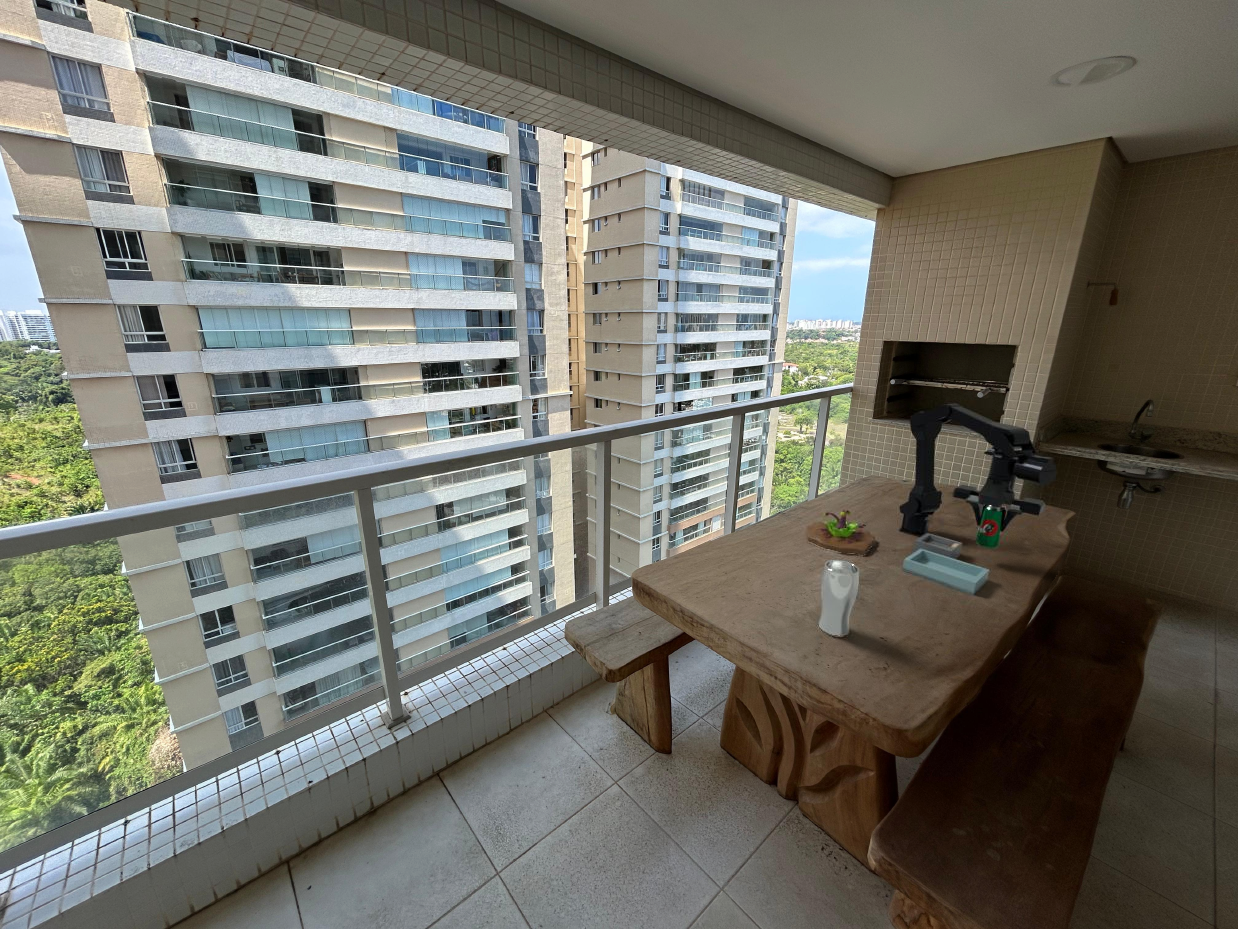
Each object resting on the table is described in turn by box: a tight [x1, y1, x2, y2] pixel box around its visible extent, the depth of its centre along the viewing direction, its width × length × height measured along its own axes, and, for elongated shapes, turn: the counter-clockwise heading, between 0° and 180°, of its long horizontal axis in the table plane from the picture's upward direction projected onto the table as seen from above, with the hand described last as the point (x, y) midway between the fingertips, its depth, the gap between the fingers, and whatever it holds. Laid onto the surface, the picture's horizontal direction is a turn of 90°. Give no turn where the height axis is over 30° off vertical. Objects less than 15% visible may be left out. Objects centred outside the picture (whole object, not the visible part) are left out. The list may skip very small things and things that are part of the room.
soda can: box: [975, 504, 1008, 549], centre depth 125 cm, size 5×5×12 cm
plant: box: [805, 509, 877, 556], centre depth 141 cm, size 20×20×11 cm
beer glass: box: [818, 559, 860, 636], centre depth 97 cm, size 7×7×15 cm
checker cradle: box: [912, 532, 963, 560], centre depth 133 cm, size 9×9×4 cm
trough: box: [902, 549, 990, 596], centre depth 120 cm, size 16×11×3 cm
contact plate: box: [927, 540, 951, 549], centre depth 133 cm, size 6×6×2 cm
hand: (990, 528), depth 125 cm, fingers closed on soda can, 5 cm apart
